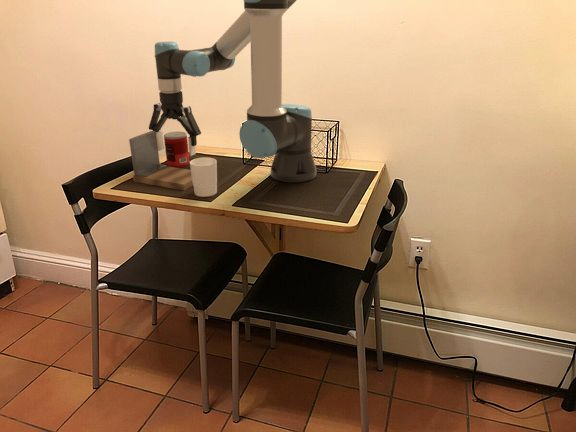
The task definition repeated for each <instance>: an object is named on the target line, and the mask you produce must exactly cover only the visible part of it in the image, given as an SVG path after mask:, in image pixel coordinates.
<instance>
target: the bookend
mask: <svg viewBox="0 0 576 432" xmlns="http://www.w3.org/2000/svg"><path fill="white" fill-rule="evenodd" d="M128 141H129V147H130V155H131V162H132V167H133V175H135V176H141V177H147V176H149V175H152V174H154V173H156V172H158V171H160V170H162V169H164V168H166V167H167V166H168V164H161V163H160V156H159V151H158V146H157V138H156V131H153V130H150V131H147V132H144V133H141V134H140V135H136V136H134V137H131V138H129V139H128Z"/></svg>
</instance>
